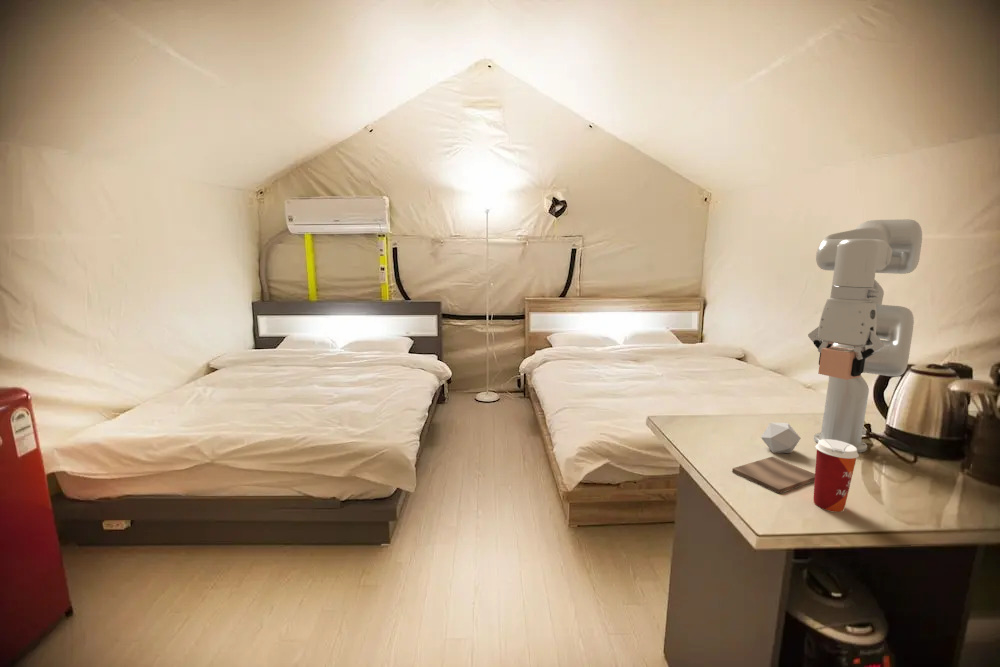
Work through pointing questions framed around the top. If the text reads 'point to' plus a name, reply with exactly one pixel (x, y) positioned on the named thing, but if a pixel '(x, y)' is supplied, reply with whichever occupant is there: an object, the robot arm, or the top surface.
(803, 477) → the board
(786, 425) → the die
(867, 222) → the robot arm
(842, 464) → the paper cup
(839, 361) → the lettered cube
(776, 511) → the top surface
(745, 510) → the top surface
